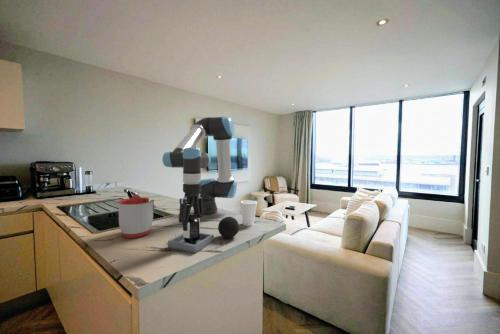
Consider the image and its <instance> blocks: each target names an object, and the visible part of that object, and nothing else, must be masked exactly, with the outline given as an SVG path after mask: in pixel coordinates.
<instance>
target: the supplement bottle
mask: <svg viewBox="0 0 500 334" xmlns="http://www.w3.org/2000/svg"><path fill="white" fill-rule="evenodd" d="M188 223H190V238H184V241H185V242H188V243H193V242H197V241H198V240H199V239H200V233H201V220H200V221H199V219H197V213H196V212H194V211H193V212H191V211H190V216H189V221H188Z"/></svg>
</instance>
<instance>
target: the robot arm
mask: <svg viewBox="0 0 500 334" xmlns="http://www.w3.org/2000/svg"><path fill="white" fill-rule="evenodd" d="M234 135H235V125H234V121H233V119H232V118H231V117H226V116H216V117H215V116H212V117H211V116H209V117H203V118H200V119H199V120H197V121H195V122H194V123H193V124H192V125H191V127H190V129H189V132H188V133H187V134H186V135H185V136H184V137H183V138H182V140H181V141H180V142H179V144H178V145H176V146H175V148H174V149H173V150H172V151H165V152H164V153H163V155H162V158H161V159H162V164H163V166H164V167H167V168H172V169H173V168H181V169H182V182H183V184H182V191H183V193H184V196H183V198H179V214H178V222H179V223H180V224H181V223H182V231H183V233H182V234H183V237H184V238H190V223H188V221H189V216H190V212H191V210H192V209H193V212H196V213H197V219H199V221H200V222H201V219H202V218H203V215H213V214H214V215H215V214H217V213H218V207H217V202H216V198H217V199H218V198H219V199H220V198H221V199H233V198H234V197H235V195H236V193H237V186H238V184H237V182H238V181H236V180H235V179H234V176H232V162H231V144H230V143H231V140H232V139H233V138H232V137H233V136H234ZM205 137H212V138H213V141H215V146H216V147H215V148H216V159H217V170H218V171H217V173H218V177H217V178H214V177H211V178H203V179H202V172H201V170H202V169H205V168H208V166H210V165H211V162H212V159H211V156H210V155H209V154H208V153H207V152H205V151H203V152H202V151H201V148H200V147H196V146H197V145H198V143H199V142H200V141H201V140H202V139H204V138H205Z"/></svg>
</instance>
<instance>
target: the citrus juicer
mask: <svg viewBox="0 0 500 334" xmlns="http://www.w3.org/2000/svg"><path fill="white" fill-rule="evenodd" d="M149 200H150V201H149ZM154 202H155V201H154V199H150V198H149V197H144V196H143V197H141V196H140V195H139V194H137V193H136V194H134V195H133V196H132V197H128V198H124V199H120V200H118V201H117V203H118V225H119V230H120V232H121V235H122V236H123V237H124V238H128V239H134V238H140V237H144V236H147V235H149V234H150V232H151V230H152V225H153V220H154V209H157V207H158V206H156V205H154Z"/></svg>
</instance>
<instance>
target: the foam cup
mask: <svg viewBox="0 0 500 334" xmlns="http://www.w3.org/2000/svg"><path fill="white" fill-rule="evenodd" d="M257 207H258V202H257V201H256V200H249V199H245V200H241V201H240V209H241V218H242V219H241V220H242V225H243V226H246V227H252V226H254V225H255V218H256V212H257Z"/></svg>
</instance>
